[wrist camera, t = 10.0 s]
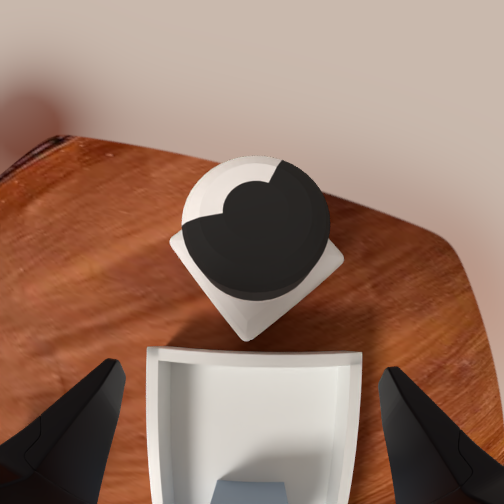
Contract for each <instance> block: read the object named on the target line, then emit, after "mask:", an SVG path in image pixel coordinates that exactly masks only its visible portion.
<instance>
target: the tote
mask: <svg viewBox="0 0 504 504" xmlns="http://www.w3.org/2000/svg"><path fill="white" fill-rule="evenodd" d="M361 380H362V352H355V351H345V350H343V351H317V352H254V351H227V350H209V349H195V348H183V347H172V346H152V347H147V364H146V422H147V446H148V462H149V475H150V486H151V495H152V504H210V502H211V499H212V496H213V493H214V489H215V486H216V483H217V480H226V481H242V482H284V485H285V490H286V495H287V500H288V504H348V499H349V494H350V488H351V482H352V475H353V468H354V461H355V453H356V445H357V435H358V425H359V413H360V399H361Z"/></svg>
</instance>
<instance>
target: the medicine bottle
mask: <svg viewBox="0 0 504 504" xmlns="http://www.w3.org/2000/svg"><path fill="white" fill-rule="evenodd" d="M329 234H330V215H329V210H328V206H327V203H326V200H325V198H324V196H323V194H322V192H321V190H320V189H319V187H318V186H317V185H316V183H315V182H314V181H313V180H312V179H311V178H310V177H309V176H308V175H307V174H306V173H304V172H303V171H302V170H301V169H299V168H298V167H296V166H294V165H293V164H290V163H288V162H285V161H284V160H280V159H277V158H273V157H267V156H245V157H239V158H235V159H232V160H229V161H226V162H224V163H222V164H220V165H218V166H216V167H214V168H213V169H211V170H210V171H209V172H207V173H206V174H205V175H204V176H203V177H202V178H201V179H200V180H199V181H198V182H197V183H196V185H195V186H194V187H193V189H192V190H191V192H190V194H189V196H188V198H187V200H186V203H185V206H184V210H183V215H182V230H181V231H179V232H178V233H177V234H175V235H174V236H173V237H172V238H171V239H170V245H171V247H172V248H173V250H174V251H175V252H176V254H177V255H178V257H179V258H180V259H181V261H182V262H183V264H184V265H185V266H186V268H187V269H188V270H189V272H190V273H191V275H192V276H193V277H194V279H195V280H196V281H197V283H198V284H199V285H200V287H201V288H202V289H203V291H204V292H205V293H206V295H207V296H208V297H209V299H210V300H211V301H212V303H213V304H214V305H215V307H216V308H217V309H218V310H219V312H220V313H221V314H222V316H223V317H224V318H225V319H226V321H227V322H228V323H229V325H230V326H231V327H232V328H233V330H234V331H235V332H236V333H237V335H238V336H239V337H240V338H241V339H242V340H243V341H250V340H252V339H254V338H255V337H256V336H258V335H259V334H260V333H261V332H263V331H264V330H265V329H266V328H268V327H269V326H270V325H271V324H273V323H274V322H275V321H276V320H278V319H279V318H280V317H281V316H283V315H284V314H285V313H286V312H288V311H289V310H290V309H291V308H292V307H294V306H295V305H296V304H297V303H298V302H300V301H301V300H302V299H303V298H304V297H306V296H307V295H308V294H309V293H310V292H311V291H313V290H314V289H315V288H316V287H317V286H318V285H320V284H321V283H322V282H323V281H324V280H325V279H326V278H327V277H328V276H330V275H331V274H332V273H333V272H334V271H335V270H336V269H337V268H338V267H339V266H340V265H341V264H342V263H343V262H344V256H343V254H342V253H341V252H340V251H339V250H338V249H337V247H336V246H335V245H334V244H333V243H332V242H331V241H330V240H329Z"/></svg>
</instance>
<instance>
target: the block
mask: <svg viewBox="0 0 504 504" xmlns="http://www.w3.org/2000/svg"><path fill="white" fill-rule="evenodd" d="M210 504H288V500H287V495H286V490H285V485H284V482H242V481H226V480H217V483H216V486H215V489H214V493H213V496H212V499H211V502H210Z"/></svg>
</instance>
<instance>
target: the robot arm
mask: <svg viewBox="0 0 504 504" xmlns="http://www.w3.org/2000/svg"><path fill="white" fill-rule="evenodd" d="M125 381H126V376H125V373H124V370H123V368H122V366H121V364H120V362H119V361H118V360H117V359H111V358H108V359H106V360H104V361H103V362H102V363H101V364H100V365H99V366H97V367H96V368H95V369H94V370H93V371H91V372H90V373H89V374H88V375H87V376H86V377H84V378H83V379H82V380H81V381H80V382H78V383H77V384H76V385H75V386H74V387H73V388H71V389H70V390H69V391H68V392H67V393H66V394H64V395H63V396H62V397H61V398H60V399H59V400H57V401H56V402H55V403H54V404H53V405H51V406H50V407H49V408H48V409H47V410H46V411H45V412H43V413H42V414H41V416H39V417H37V418H36V419H35V420H34V421H33V422H32V423H30V424H29V425H28V426H27V427H25V428H24V429H23V430H21V431H20V432H19V433H17V434H16V435H14V436H13V437H12V438H10V439H9V440H7V441H6V442H4V443H3V444H1V445H0V504H97V502H98V497H99V492H100V488H101V483H102V479H103V475H104V471H105V467H106V462H107V459H108V455H109V451H110V447H111V443H112V440H113V436H114V432H115V429H116V425H117V422H118V418H119V413H120V408H121V402H122V397H123V391H124V386H125ZM378 389H379V397H380V407H381V417H382V425H383V431H384V436H385V441H386V446H387V451H388V456H389V462H390V467H391V473H392V479H393V486H394V493H395V500H396V504H504V467H503V466H502V465H501V464H500V463H498V462H497V461H496V460H495V459H493V458H492V457H491V456H490V455H488V454H487V453H486V452H485V451H484V450H482V449H481V448H480V447H479V446H478V445H477V444H475V443H474V442H473V441H472V440H471V439H470V438H469V437H468V436H467V435H466V434H465V433H464V432H463V431H462V430H460V428H459V427H458V426H457V425H456V424H455V423H454V422H453V421H452V420H451V419H450V418H449V417H448V416H447V415H446V414H445V413H444V412H443V411H442V410H441V409H440V408H439V407H438V406H437V405H436V404H435V403H434V402H433V401H432V400H431V399H430V398H429V397H428V396H427V395H426V394H425V393H424V392H423V391H422V390H421V389H420V388H419V387H418V386H417V385H416V384H415V383H414V382H413V381H412V380H411V379H410V378H409V377H408V376H407V375H406V374H405V373H404V372H403V371H402V370H401V369H400V368H399V367H397V366H394V367H387V368H386V369H385V371H384V373H383V375H382V377H381V379H380V381H379V384H378Z"/></svg>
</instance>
